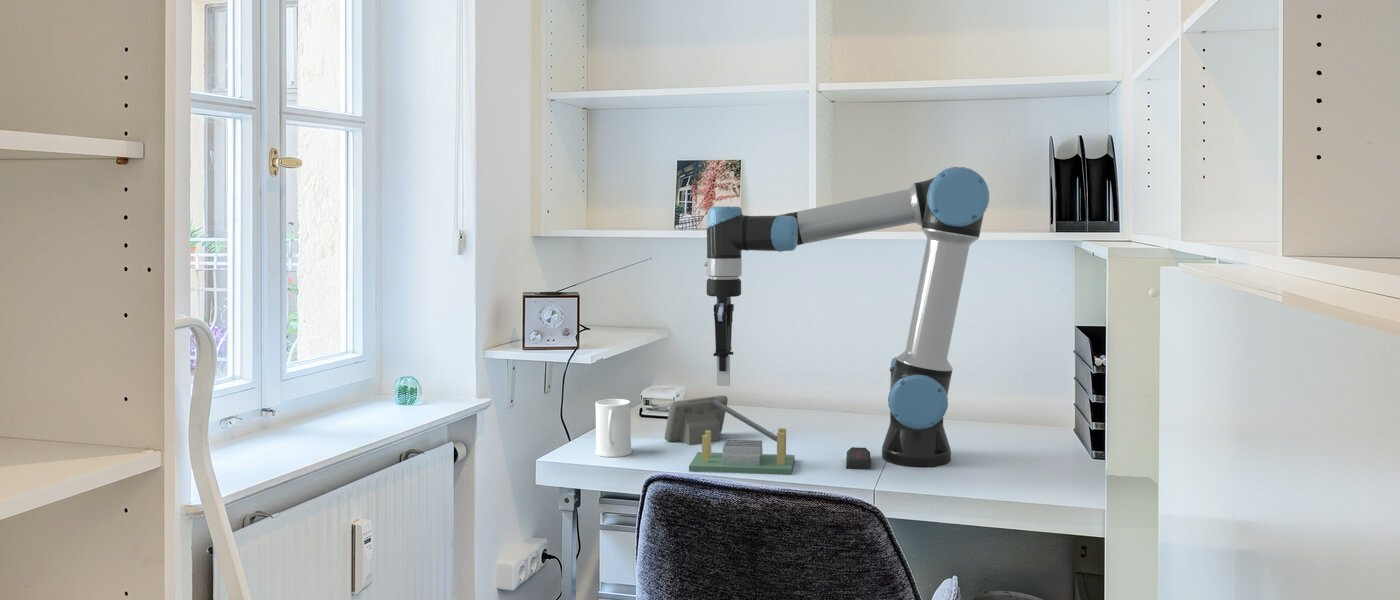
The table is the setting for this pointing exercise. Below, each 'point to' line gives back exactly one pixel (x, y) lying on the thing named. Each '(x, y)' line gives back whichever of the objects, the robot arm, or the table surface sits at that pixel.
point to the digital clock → (695, 419)
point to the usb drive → (858, 459)
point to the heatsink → (742, 452)
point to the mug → (613, 428)
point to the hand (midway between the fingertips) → (723, 385)
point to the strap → (745, 420)
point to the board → (768, 465)
